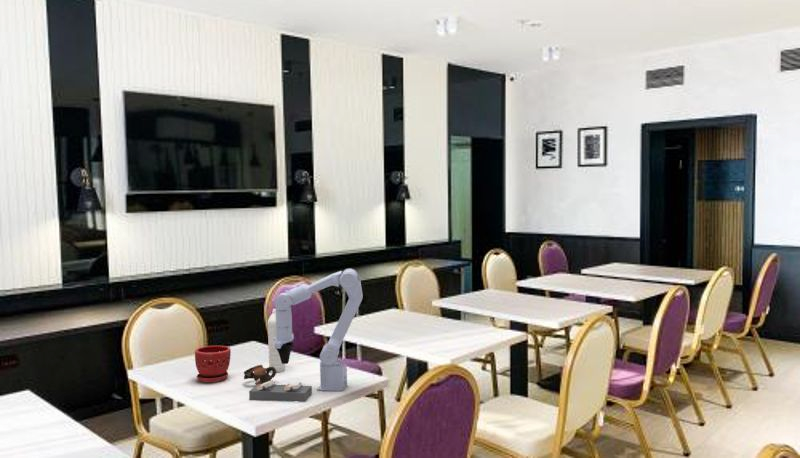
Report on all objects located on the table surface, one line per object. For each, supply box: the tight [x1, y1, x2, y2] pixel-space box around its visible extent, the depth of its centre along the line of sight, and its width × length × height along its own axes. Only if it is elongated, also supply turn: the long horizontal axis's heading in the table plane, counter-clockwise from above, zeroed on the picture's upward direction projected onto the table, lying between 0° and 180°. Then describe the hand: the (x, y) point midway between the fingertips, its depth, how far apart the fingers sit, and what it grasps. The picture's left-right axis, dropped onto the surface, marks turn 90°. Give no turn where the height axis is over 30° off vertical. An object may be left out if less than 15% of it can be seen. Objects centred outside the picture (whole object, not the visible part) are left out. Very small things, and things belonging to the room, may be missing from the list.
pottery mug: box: [243, 364, 277, 386], centre depth 235 cm, size 12×10×8 cm
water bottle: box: [267, 308, 286, 373], centre depth 252 cm, size 9×6×25 cm
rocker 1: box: [257, 379, 275, 391], centre depth 218 cm, size 5×4×2 cm
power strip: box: [248, 383, 313, 403], centre depth 219 cm, size 20×8×3 cm, turn 80°
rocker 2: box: [284, 381, 302, 391], centre depth 216 cm, size 5×4×2 cm
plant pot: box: [194, 345, 232, 383], centre depth 241 cm, size 13×13×12 cm
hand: (285, 363), depth 227 cm, fingers closed
